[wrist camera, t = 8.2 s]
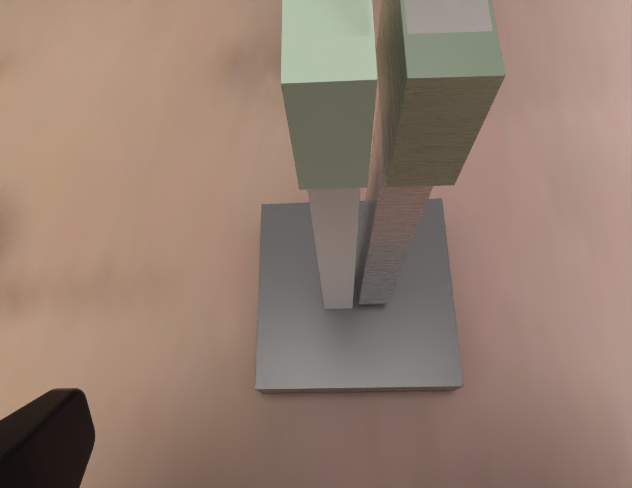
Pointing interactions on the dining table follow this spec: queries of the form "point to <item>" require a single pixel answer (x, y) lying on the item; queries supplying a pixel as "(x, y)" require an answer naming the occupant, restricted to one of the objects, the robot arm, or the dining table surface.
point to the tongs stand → (343, 233)
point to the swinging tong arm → (422, 121)
